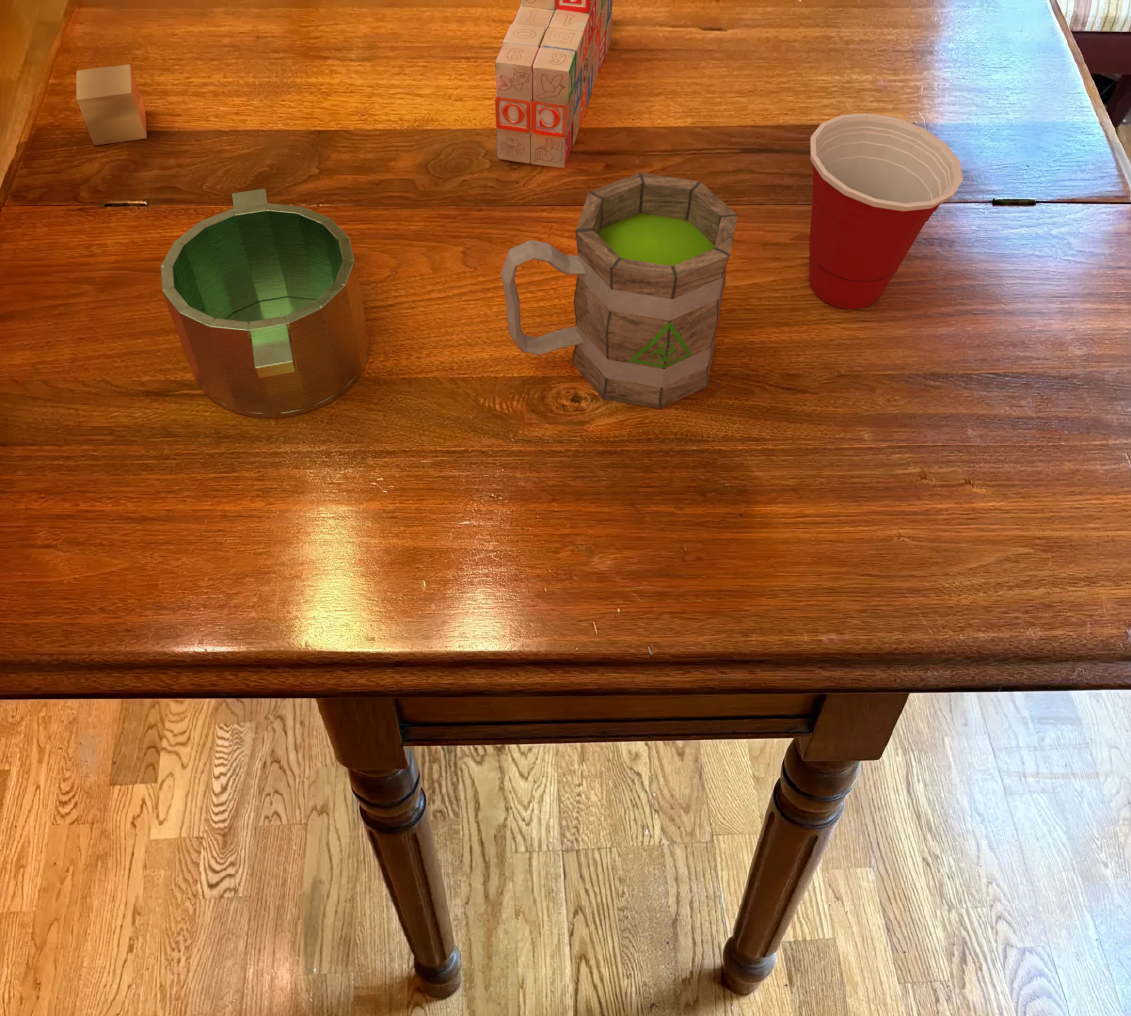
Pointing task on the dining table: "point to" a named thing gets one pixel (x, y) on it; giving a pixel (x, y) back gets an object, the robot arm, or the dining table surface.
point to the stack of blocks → (548, 77)
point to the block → (111, 104)
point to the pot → (267, 307)
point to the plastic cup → (871, 202)
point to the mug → (638, 288)
